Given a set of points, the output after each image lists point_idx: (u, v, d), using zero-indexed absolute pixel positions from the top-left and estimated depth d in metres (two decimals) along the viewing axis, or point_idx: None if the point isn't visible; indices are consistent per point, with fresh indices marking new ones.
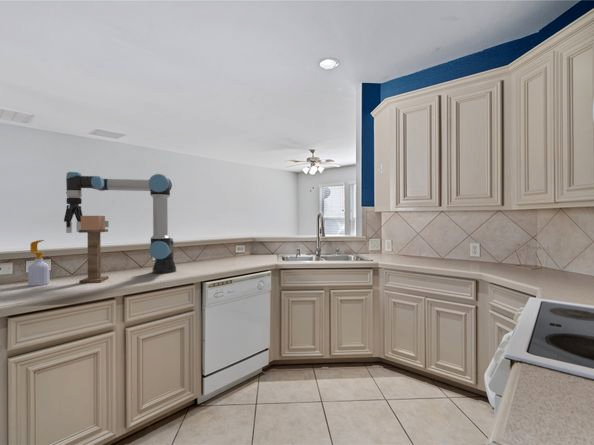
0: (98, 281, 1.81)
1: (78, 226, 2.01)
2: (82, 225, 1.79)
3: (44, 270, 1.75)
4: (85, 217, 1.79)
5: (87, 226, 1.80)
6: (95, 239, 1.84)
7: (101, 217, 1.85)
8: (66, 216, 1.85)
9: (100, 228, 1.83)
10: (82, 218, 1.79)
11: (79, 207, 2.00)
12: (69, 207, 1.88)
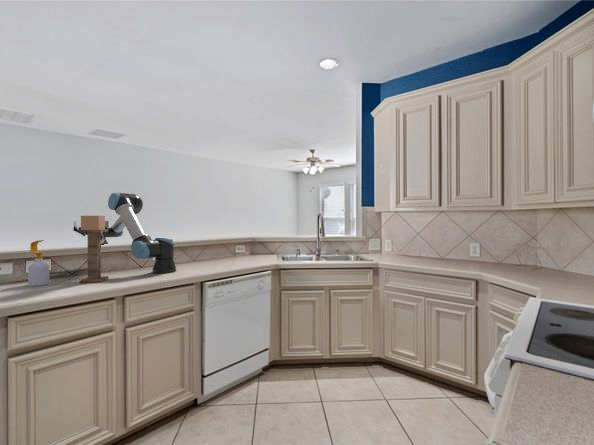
0: (98, 281, 1.81)
1: None
2: (82, 225, 1.79)
3: (44, 270, 1.75)
4: (85, 217, 1.79)
5: (87, 226, 1.80)
6: (95, 239, 1.84)
7: (101, 217, 1.85)
8: None
9: (100, 228, 1.83)
10: (82, 218, 1.79)
11: None
12: None
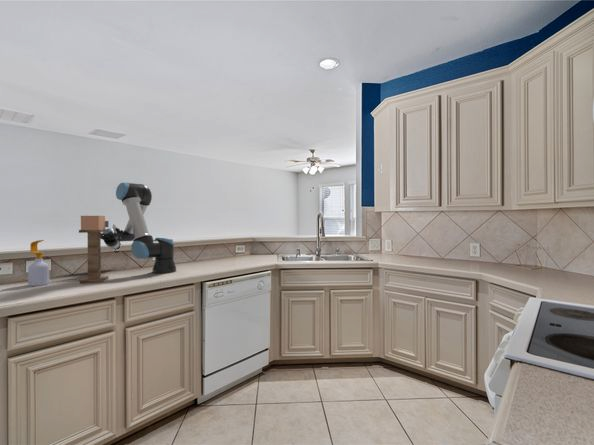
0: (98, 281, 1.81)
1: None
2: (82, 225, 1.79)
3: (44, 270, 1.75)
4: (85, 217, 1.79)
5: (87, 226, 1.80)
6: (95, 239, 1.84)
7: (101, 217, 1.85)
8: None
9: (100, 228, 1.83)
10: (82, 218, 1.79)
11: None
12: None
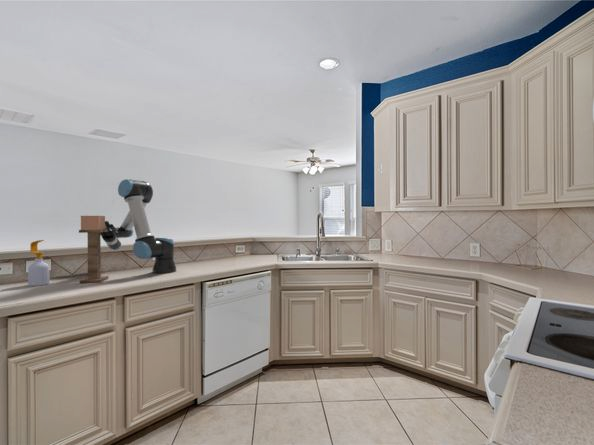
0: (98, 281, 1.81)
1: None
2: (82, 225, 1.79)
3: (44, 270, 1.75)
4: (85, 217, 1.79)
5: (87, 226, 1.80)
6: (95, 239, 1.84)
7: (101, 217, 1.85)
8: None
9: (100, 228, 1.83)
10: (82, 218, 1.79)
11: None
12: None
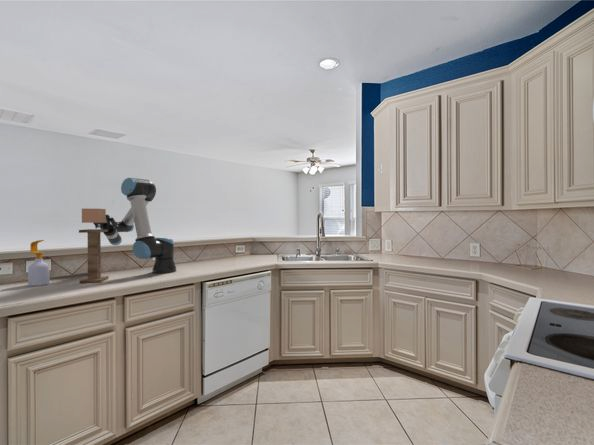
0: (98, 281, 1.81)
1: None
2: (83, 218, 1.80)
3: (44, 270, 1.75)
4: (86, 210, 1.81)
5: (88, 218, 1.81)
6: (95, 239, 1.84)
7: (102, 210, 1.86)
8: None
9: (101, 221, 1.85)
10: (83, 211, 1.80)
11: None
12: None
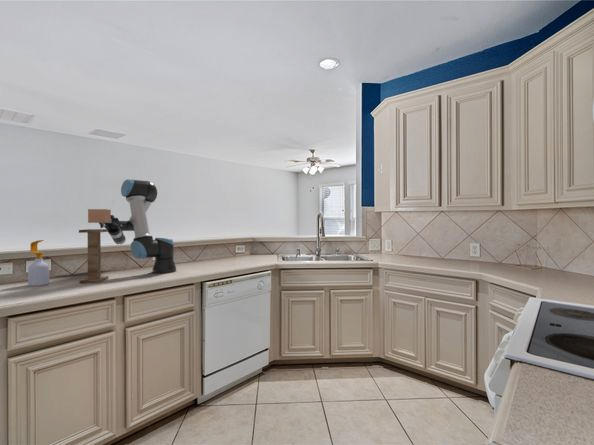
0: (98, 281, 1.81)
1: None
2: (89, 218, 1.89)
3: (44, 270, 1.75)
4: (92, 210, 1.89)
5: (94, 219, 1.89)
6: (95, 239, 1.84)
7: (107, 211, 1.95)
8: None
9: (106, 221, 1.93)
10: (89, 211, 1.89)
11: None
12: None
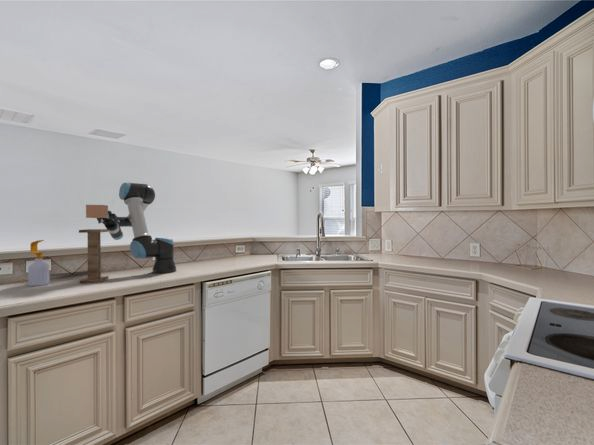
0: (98, 281, 1.81)
1: None
2: (87, 213, 1.96)
3: (44, 270, 1.75)
4: (90, 206, 1.96)
5: (91, 214, 1.96)
6: (95, 239, 1.84)
7: (104, 206, 2.02)
8: None
9: (103, 216, 2.00)
10: (87, 207, 1.96)
11: None
12: None
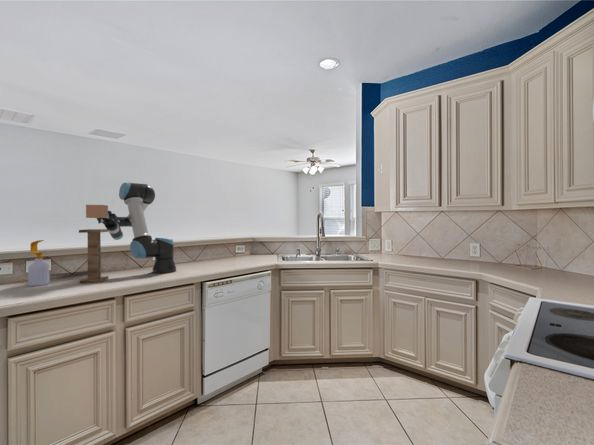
0: (98, 281, 1.81)
1: None
2: (87, 213, 1.96)
3: (44, 270, 1.75)
4: (90, 206, 1.96)
5: (91, 214, 1.96)
6: (95, 239, 1.84)
7: (104, 206, 2.02)
8: None
9: (103, 216, 2.00)
10: (87, 207, 1.96)
11: None
12: None
